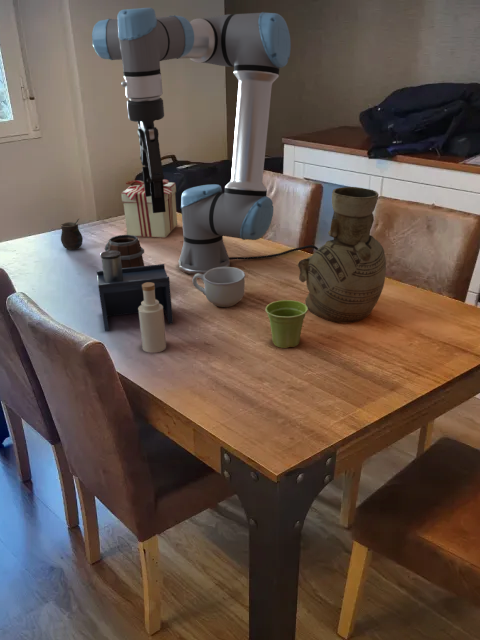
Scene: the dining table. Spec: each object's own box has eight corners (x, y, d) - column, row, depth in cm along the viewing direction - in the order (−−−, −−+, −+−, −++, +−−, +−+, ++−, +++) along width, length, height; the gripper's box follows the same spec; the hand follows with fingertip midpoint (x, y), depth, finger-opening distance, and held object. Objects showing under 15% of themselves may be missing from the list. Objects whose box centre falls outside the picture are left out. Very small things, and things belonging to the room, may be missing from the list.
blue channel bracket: (167, 308, 167) (163, 263, 160) (172, 323, 159) (169, 277, 152) (103, 315, 165) (96, 270, 158) (104, 331, 157) (98, 285, 150)
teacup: (251, 297, 170) (251, 269, 166) (235, 313, 162) (235, 283, 158) (204, 291, 175) (203, 263, 171) (187, 306, 167) (185, 277, 163)
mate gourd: (66, 244, 216) (61, 214, 210) (87, 244, 215) (83, 214, 209) (59, 251, 210) (53, 221, 204) (81, 251, 209) (76, 221, 203)
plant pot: (295, 355, 142) (296, 319, 137) (258, 346, 146) (258, 311, 141) (312, 339, 148) (314, 304, 143) (276, 331, 152) (277, 297, 148)
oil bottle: (164, 340, 151) (159, 278, 142) (167, 351, 146) (162, 287, 138) (141, 343, 150) (134, 281, 141) (143, 354, 145) (136, 290, 137)
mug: (158, 291, 177) (153, 238, 168) (122, 303, 171) (115, 249, 162) (127, 277, 187) (121, 226, 179) (92, 288, 181) (84, 236, 173)
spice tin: (122, 275, 157) (119, 249, 154) (124, 282, 153) (121, 255, 150) (103, 277, 157) (99, 251, 153) (104, 284, 153) (100, 257, 149)
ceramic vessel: (291, 300, 168) (295, 181, 151) (371, 297, 167) (384, 178, 150) (299, 331, 152) (305, 203, 135) (388, 328, 151) (404, 199, 135)
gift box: (123, 240, 217) (116, 188, 208) (136, 224, 232) (131, 175, 223) (171, 240, 214) (167, 187, 205) (182, 224, 229) (178, 174, 220)
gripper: (121, 92, 140) (132, 191, 152) (132, 108, 119) (145, 221, 132) (154, 89, 141) (163, 188, 153) (171, 105, 120) (180, 217, 133)
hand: (155, 203), depth 142 cm, fingers open, 13 cm apart
